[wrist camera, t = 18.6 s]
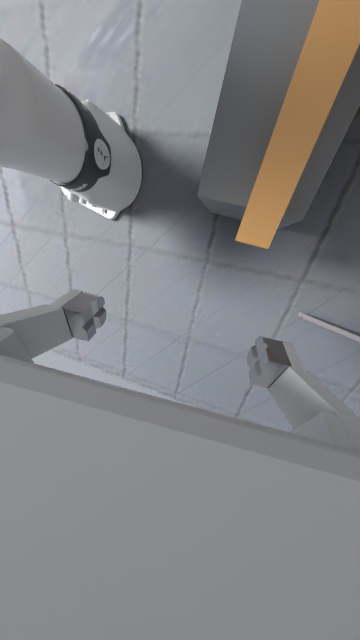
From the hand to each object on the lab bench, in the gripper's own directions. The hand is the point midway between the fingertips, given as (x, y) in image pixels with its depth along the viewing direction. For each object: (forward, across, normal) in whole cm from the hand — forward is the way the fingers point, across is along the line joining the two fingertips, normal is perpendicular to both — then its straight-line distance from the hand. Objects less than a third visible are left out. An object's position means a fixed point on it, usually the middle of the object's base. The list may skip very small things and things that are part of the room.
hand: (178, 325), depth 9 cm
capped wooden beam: (+22, -7, -12) cm, 26 cm away
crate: (+37, -7, -9) cm, 39 cm away
